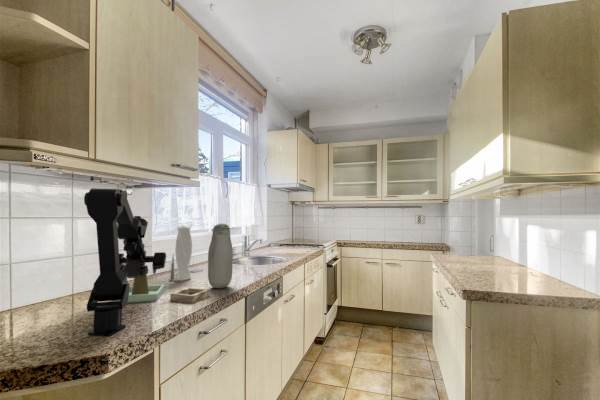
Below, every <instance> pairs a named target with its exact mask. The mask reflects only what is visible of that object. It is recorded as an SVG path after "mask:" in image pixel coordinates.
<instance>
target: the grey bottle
mask: <svg viewBox="0 0 600 400" xmlns="http://www.w3.org/2000/svg"><path fill="white" fill-rule="evenodd" d="M207 252H208V253H207V280H208V284H209V285H210V286H211V287H212V288H215V289H223V288H226V287H228V286H229V285H230V283H231V281H232V279H233V261H234V248H233V244H232V240H231V228H230V226H229V225H228V224H227V223H217V224H215V225H214V226H213V228H212V234H211V241H210V243H209V247H208V251H207Z"/></svg>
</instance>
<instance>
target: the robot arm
mask: <svg viewBox="0 0 600 400" xmlns="http://www.w3.org/2000/svg"><path fill="white" fill-rule="evenodd" d="M83 201H84V205H85V206H86V211H87V215H89V217H90V218H91V219H92V221H94V222H95V226H96V238H97V251H98V253H97V254H98V263H99V264H98V265H99V275H98V277H97V278H96V280H95V281H94V283H93V287H92V289H91V291H90V295H89V297H88V301H87V303H86V310H87V311H86V312H93V329H92V330H90V331H88V332H87V335H90V336H111V335H113V334H116V333H117V332H119V331H121V330H123V329H124V328H126V327H127V325H126V324H122V319H123V317H122V316H123V310H124V309H125V307H127V305H128V304H129V303H128V297H129V289H130V285H131V284H130V283H129V281H128V279H134V278H140V277H141V276H144V274H147V275H148V273H147V269H148V270H149V268H148V265H147V264H146V263H151V264H152V274H153V275H155V274H156V273H157V270H160V269H164V268H165V266H166V262H167V261H166V260H167V254H166V252H163V251H162V252H159V251H158V252H154V254H153V255H147V251H146V250H145V247H146V246H145V244H144V242H143V239H144V238H145V235H146V232H147V228H148V225H149V224H148V220H146V219H144V218H142V217H141V216H140V215H134V214H133V212H132V209H131V206H130V203H129V200H128V192H127V190H124V189H122V188H121V189H120V188H119V189H118V188H90V190H89V191H88V192H85V193H84V198H83ZM119 240H123V242H122V243H123V251H125V252H126V255H125V254H124V253H120V252H119V251H120V249H119ZM115 300H121V301H115ZM111 301H113V302H111Z"/></svg>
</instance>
